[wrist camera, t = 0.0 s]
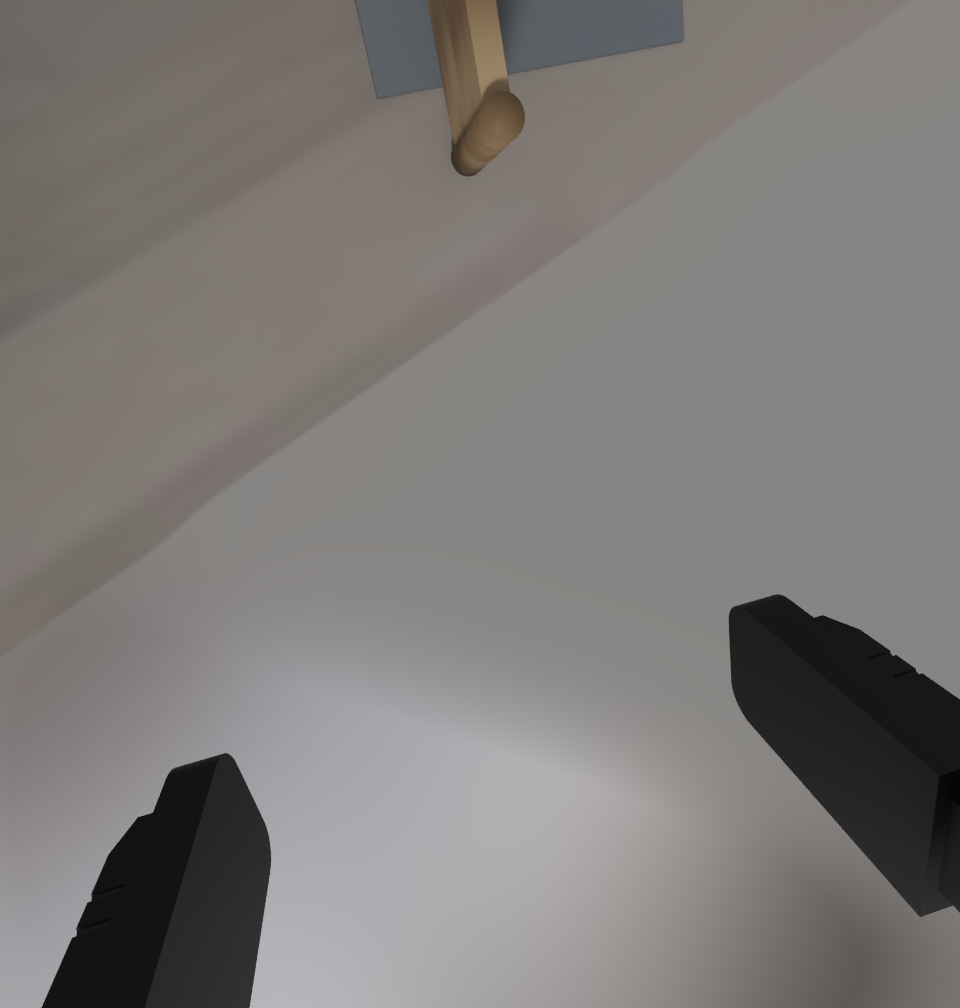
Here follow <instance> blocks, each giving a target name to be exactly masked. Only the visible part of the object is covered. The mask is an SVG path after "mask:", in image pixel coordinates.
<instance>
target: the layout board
mask: <svg viewBox="0 0 960 1008" xmlns="http://www.w3.org/2000/svg"><path fill="white" fill-rule="evenodd" d="M355 2H356V7H357V11H358V15H359V20H360V24H361V29H362V33H363V38H364V42H365V47H366V51H367V55H368V60H369V64H370V69H371V73H372V78H373V82H374V86H375V91H376V95H377V99H380V98H385V97H391V96H396V95H401V94H407V93H412V92H417V91H423V90H428V89H433V88H439V87H443V83H442V78H441V72H440V67H439V62H438V56H437V51H436V46H435V41H434V35H433V30H432V25H431V19H430V14H429V9H428V3H427V0H355ZM496 4H497V11H498V18H499V24H500V31H501V37H502V44H503V51H504V57H505V64H506V70H507V75H508V74H513V73H519V72H524V71H529V70H535V69H540V68H546V67H551V66H556V65H562V64H567V63H572V62H578V61H583V60H588V59H594V58H599V57H604V56H610V55H615V54H620V53H626V52H631V51H636V50H642V49H647V48H652V47H658V46H663V45H668V44H674V43H679V42H682V41H683V40H684V29H683V10H682V0H496Z"/></svg>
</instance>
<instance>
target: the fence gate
mask: <svg viewBox="0 0 960 1008" xmlns="http://www.w3.org/2000/svg"><path fill="white" fill-rule="evenodd" d="M427 3H428V9H429V14H430V19H431V25H432V30H433V35H434V41H435V46H436V51H437V56H438V62H439V67H440V72H441V78H442V83H443V88H444V94H445V99H446V104H447V110H448V115H449V120H450V126H451V131H452V136H453V142H454V147H453V149H452V152H451V161H452V164H453V166H454V168H455V170H456V171H457V172H458V173H460V174H461V175H464V176H473V175H475V174H477V173H478V172H479V171H480V170H481V169H482V168H483V167H485V166H486V165H487V164H488V163H489V162H490V161H491V160H492V159H493V158H494V157H496V156H497V155H498V154H499V153H500V152H501V151H502V150H503V149H504V148H505V147H507V146H508V145H509V144H510V143H511V142H512V141H513V140H514V139H515V138H516V137H517V136H518V135H519V134H520V133H521V131H522V129H523V126H524V120H525V115H524V109H523V106H522V104H521V102H520V100H519V99H518V98H517V97H516V96H515V95H514V94H512V93H510V90H509V83H508V77H507V70H506V64H505V57H504V51H503V44H502V37H501V31H500V24H499V18H498V11H497V4H496V0H427Z"/></svg>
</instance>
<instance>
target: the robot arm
mask: <svg viewBox="0 0 960 1008" xmlns="http://www.w3.org/2000/svg"><path fill="white" fill-rule="evenodd" d="M729 636H730V660H731V681H732V688H733V692H734V695H735V698H736V701H737V703H738V705H739V707H740V709H741V711H742V713H743V714H744V716H745V717H746V719H747V720H748V721H749V723H750V724H751V725H752V726H753V727H754V729H755V730H756V731H757V732H758V733H759V734H760V735H761V737H763V739H764V740H765V741H766V742H767V743H768V744H769V746H770V747H771V748H772V749H773V750H774V751H775V752H776V754H777V755H778V756H779V757H780V758H781V759H782V760H783V762H784V763H785V764H786V765H787V766H788V767H789V768H790V769H791V771H792V772H793V773H794V774H795V775H796V776H797V777H798V779H799V780H800V781H801V782H802V783H803V784H804V785H805V787H806V788H807V789H808V790H809V791H810V792H811V793H812V794H813V796H814V797H815V798H816V799H817V800H818V801H819V802H820V804H821V805H822V806H823V807H824V808H825V809H826V810H827V812H828V813H829V814H830V815H831V816H832V817H833V818H834V820H835V821H836V822H837V823H838V824H839V825H840V826H841V827H842V829H843V830H844V831H845V832H846V833H847V834H848V835H849V837H850V838H851V839H852V840H853V841H854V842H855V844H856V845H857V846H858V847H859V848H860V849H861V850H862V851H863V853H864V854H865V855H866V856H867V857H868V858H869V859H870V860H871V862H872V863H873V864H874V865H875V866H876V867H877V869H878V870H879V871H880V872H881V873H882V874H883V875H884V877H886V879H887V880H888V881H889V882H890V883H891V884H892V886H893V887H894V888H895V889H896V890H897V891H898V892H899V893H900V895H901V896H902V897H903V898H904V899H905V900H906V902H907V903H908V904H909V905H910V906H911V907H912V908H913V910H914V911H915V912H916V913H917V914H918V915H919V916H920V917H922V916H924V915H927V914H930V913H933V912H936V911H938V910H941V909H944V908H947V907H949V906H952V905H953V906H954V907H956V909H957V910H958V911H959V912H960V699H958V698H957V697H955V696H954V695H952V694H951V693H950V692H948V691H947V690H945V689H944V688H943V687H941V686H940V685H938V684H937V683H935V682H934V681H933V680H931V679H930V678H928V677H927V676H925V675H924V674H918V673H917V672H916V669H915V668H914V667H912V666H911V665H910V664H908V663H907V662H905V661H904V660H903V659H901V658H900V657H898V656H897V655H895V656H892V655H891V653H890V650H888V649H887V648H885V647H884V646H883V645H881V644H879V643H878V642H877V641H875V640H874V639H872V638H871V637H870V636H868V635H867V634H865V633H864V632H862V631H861V630H860V629H857V628H854V627H851V626H849V625H847V624H844V623H841V622H839V621H836V620H833V619H831V618H828V617H826V616H823V615H822V616H819V617H815V618H814V617H812V616H811V615H809V614H808V613H807V612H805V611H804V610H803V609H801V608H800V607H799V606H797V605H796V604H795V603H793V602H792V601H791V600H789V599H788V598H786V597H785V596H782V595H778V594H777V595H772V596H769V597H766V598H762V599H759V600H755V601H752V602H748V603H745V604H741V605H738V606H735V607H733V608H732V609H731V611H730V614H729ZM270 867H271V849H270V841H269V835H268V831H267V828H266V825H265V823H264V820H263V818H262V816H261V814H260V812H259V810H258V808H257V806H256V803H255V801H254V799H253V797H252V795H251V793H250V791H249V789H248V787H247V785H246V782H245V780H244V778H243V776H242V774H241V772H240V770H239V768H238V766H237V764H236V762H235V760H234V759H233V757H232V756H230V755H229V754H227V753H224V754H221V755H218V756H214V757H211V758H207V759H204V760H200V761H197V762H193V763H190V764H187V765H183V766H180V767H177V768H174V769H172V770H171V771H170V773H169V774H168V776H167V778H166V780H165V783H164V786H163V788H162V791H161V793H160V796H159V798H158V801H157V804H156V806H155V809H154V812H153V813H151V814H147V815H144V816H141V817H138V818H137V819H136V821H135V822H134V823H133V824H132V826H131V827H130V828H129V829H128V831H127V832H126V833H125V834H124V836H123V837H122V838H121V840H120V841H119V842H118V843H117V845H116V846H115V847H114V849H113V850H112V851H111V852H110V854H109V855H108V857H107V859H106V862H105V864H104V866H103V869H102V871H101V873H100V876H99V878H98V880H97V883H96V885H95V887H94V889H93V892H92V894H91V895H92V901H91V902H88V903H87V905H86V907H85V910H84V912H83V914H82V917H81V919H80V921H79V923H78V926H77V928H76V929H77V936H76V937H73V938H72V940H71V942H70V944H69V946H68V949H67V951H66V953H65V955H64V958H63V960H62V962H61V965H60V967H59V970H58V971H57V974H56V976H55V978H54V981H53V983H52V985H51V988H50V990H49V992H48V994H47V997H46V999H45V1001H44V1003H43V1006H42V1008H249V1007H250V1000H251V994H252V987H253V981H254V974H255V968H256V961H257V954H258V948H259V941H260V935H261V928H262V922H263V915H264V908H265V902H266V895H267V889H268V882H269V875H270Z"/></svg>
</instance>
